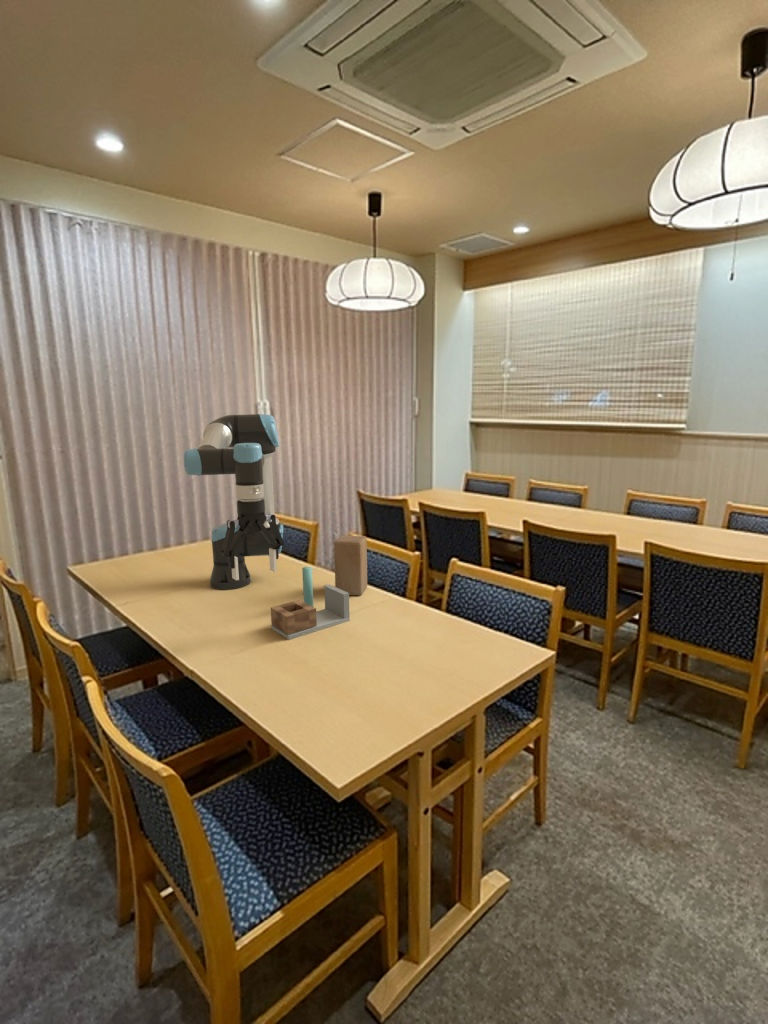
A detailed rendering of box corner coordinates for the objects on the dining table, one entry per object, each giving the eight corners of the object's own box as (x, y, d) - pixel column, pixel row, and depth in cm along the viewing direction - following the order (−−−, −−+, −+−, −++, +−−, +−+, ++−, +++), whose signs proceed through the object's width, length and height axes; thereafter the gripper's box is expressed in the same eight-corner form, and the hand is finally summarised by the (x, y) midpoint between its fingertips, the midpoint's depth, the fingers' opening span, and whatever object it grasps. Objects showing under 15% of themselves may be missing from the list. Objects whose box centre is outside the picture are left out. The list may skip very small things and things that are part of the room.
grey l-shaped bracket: (270, 628, 169) (269, 600, 167) (330, 610, 183) (329, 584, 181) (288, 639, 161) (287, 610, 159) (349, 620, 174) (348, 593, 173)
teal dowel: (302, 607, 186) (300, 568, 183) (310, 605, 188) (308, 566, 185) (307, 610, 183) (305, 570, 180) (315, 608, 185) (313, 568, 182)
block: (361, 596, 196) (360, 542, 192) (334, 594, 198) (333, 541, 194) (368, 587, 205) (367, 535, 201) (342, 585, 207) (340, 534, 203)
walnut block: (271, 624, 168) (270, 607, 167) (299, 616, 174) (298, 599, 173) (287, 634, 161) (287, 616, 160) (316, 625, 167) (316, 608, 166)
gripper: (215, 506, 142) (221, 586, 146) (294, 495, 157) (297, 569, 161) (204, 502, 148) (209, 580, 152) (281, 492, 162) (284, 563, 167)
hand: (254, 574), depth 156 cm, fingers open, 11 cm apart
